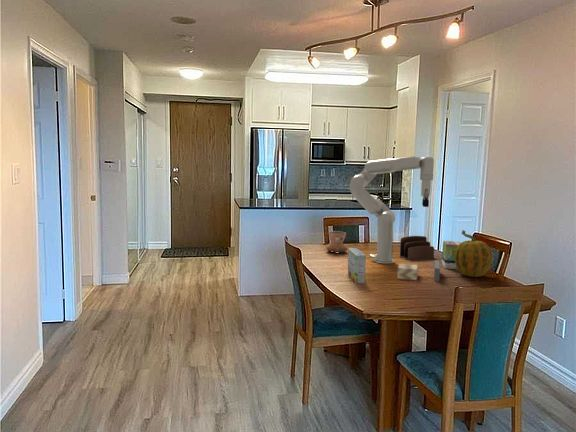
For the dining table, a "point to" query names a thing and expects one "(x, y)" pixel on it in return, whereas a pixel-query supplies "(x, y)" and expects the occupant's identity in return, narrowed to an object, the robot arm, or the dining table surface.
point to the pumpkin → (473, 257)
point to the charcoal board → (436, 271)
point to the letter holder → (416, 248)
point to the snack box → (357, 265)
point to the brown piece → (337, 241)
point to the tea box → (449, 254)
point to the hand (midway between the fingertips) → (425, 206)
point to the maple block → (407, 271)
